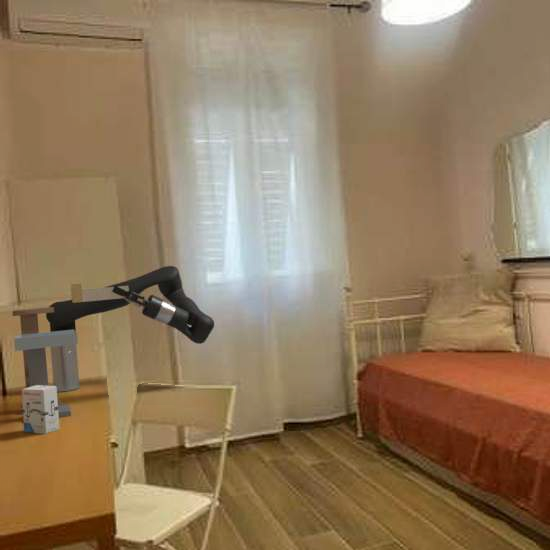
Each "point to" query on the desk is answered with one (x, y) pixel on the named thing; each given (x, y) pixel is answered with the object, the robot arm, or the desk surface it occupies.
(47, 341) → the frame
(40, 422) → the ink box
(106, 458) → the desk surface
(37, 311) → the walnut stand
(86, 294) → the pin
